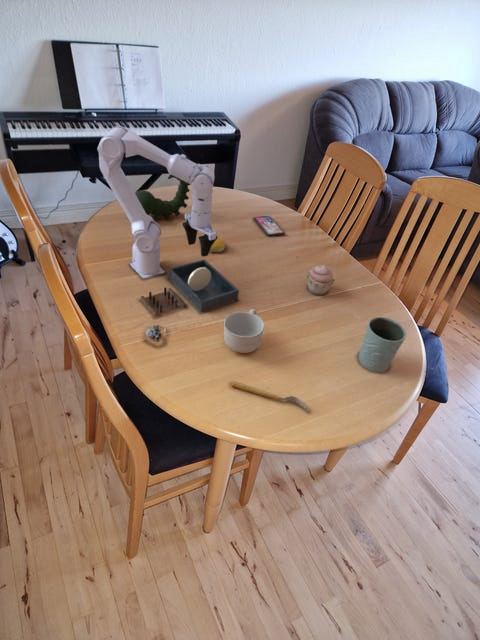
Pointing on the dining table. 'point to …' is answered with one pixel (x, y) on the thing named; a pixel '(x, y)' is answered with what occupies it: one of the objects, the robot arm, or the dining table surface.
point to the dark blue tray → (209, 296)
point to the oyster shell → (154, 332)
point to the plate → (199, 278)
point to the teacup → (243, 331)
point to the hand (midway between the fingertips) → (198, 249)
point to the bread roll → (218, 245)
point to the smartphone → (268, 226)
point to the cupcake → (320, 279)
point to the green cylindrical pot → (381, 343)
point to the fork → (268, 394)
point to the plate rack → (163, 302)
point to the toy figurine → (164, 207)
